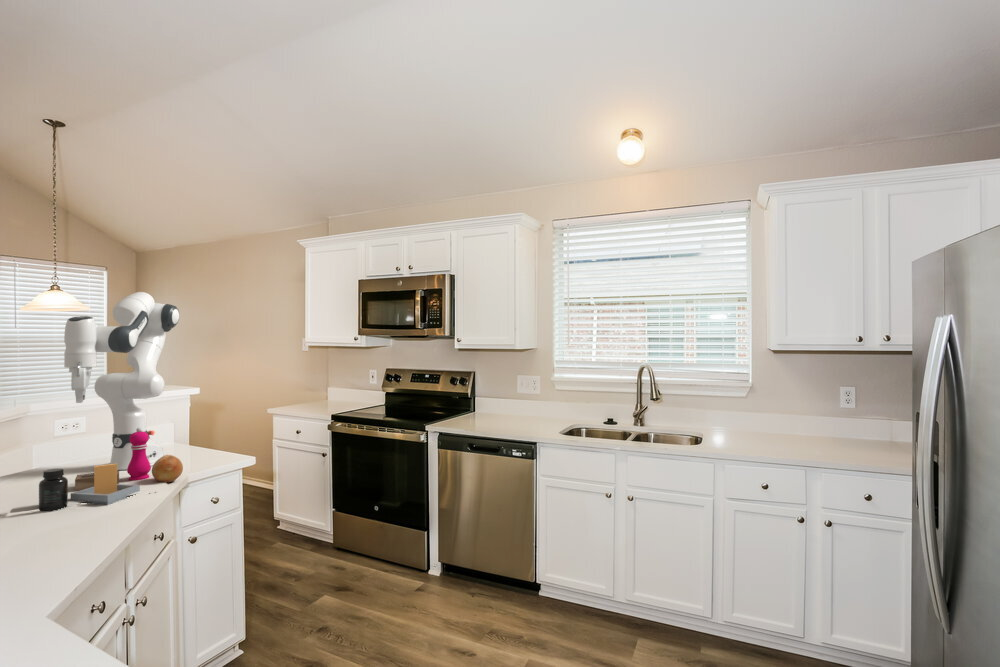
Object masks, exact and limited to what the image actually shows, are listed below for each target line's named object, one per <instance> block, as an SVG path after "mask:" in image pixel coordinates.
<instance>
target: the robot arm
mask: <svg viewBox="0 0 1000 667" xmlns="http://www.w3.org/2000/svg"><path fill="white" fill-rule="evenodd" d="M155 301H156V300H155V299H154V298H153V296H152V295H151V294H149V293H148V292H144V291H137V292H134V293H131V294H129V295H128V296H125V297H124V298H122V299H121V300H119V301H118V302H117V303H116V304H114V306H113V308H112V317H113V319H114V320H115V322H116V323H118V326H115V325H114V326H111V325H108V326H107V325H106V326H104V325H102V326H100V325H98V324H97V323H96V321H95V318H94V317H92V316H86V315H84V316H72V317H69V318H67V320H66V322H65V327H64V338H63V339H64V345H65V351H64V355H63V357H64V359H63V360H64V362H63V363H64V368H65V369H66V368H68V373H71V382H70V383H71V386H70V388H71V390H72V391H74V394H75V403H76V404H81V403H83V402H84V400H86V390H87V388H88V386H90V382H91V374H92V372H93V368H94V367H95V368H97V353H121V354H122V353H123V354H127V357H126V361H127V364H128V365H129V366H130V368H133V371H132V372H113V373H112V372H111V373H106V374H102V375H100V376H98V378H97V379H96V381H95V382H94V392H95V393H96V395H97V396H98V397H99V398H101V399H102V400H104V402H106V404H107V405H108V407H109V408H110V411H111V414H112V418H113V420H112V421H113V433H112V437H111V439H112V440H111V442H112V445H113V446H112V449H111V450H112V451H111V457H110V463H109V464H117V470H119V471H124V470H125V471H126V470H127V468H128V465H129V463H130V461H131V459H132V453H133V452H132V449H131V445H132V444H131V443H130V441H129V438H130V436H131V434H133V433H135V432H137V431H136V429H137V428H138V427H140V428H142V431H143V432H146V433H147V434H148V436H149V440H148V441H147V443H146V444H147V448H146V456H147V459H148V461H149V462H150V465H151V467H153V465H154V463H155V462H156V461H157V460H158V459H159V458H161V457H163V456H165V455H164V449H163V446H162V445H161V444H159V443H158V442H156V441H154V440H152V439H151V437H150V436H154V435H155V434H156V432H155V430H152V429H151V430H147V414H146V413H147V412H145V410H144V409H142V408H140V407H138V406H137V405H136V404H135V402H134V400H138V399H139V400H141V399H143V400H147V399H151V398H156V397H159V396H161V395H162V393H163V392H164V389H165V386H166V385H165V384H166V383H165V379H164V378H163V376H162V375H161V374H159V373H158V371H157V366H158V365H157V364H158V362H159V359H160V357H161V354H162V352H163V350H164V346H165V343H166V338H167V337H166V336H167V335H166V333H168V332H170V331H171V330H172V329H174V328H175V327H176V326H177V325H178V324H179V320H180V310H179V309H178V307H177V306H176V305H173V304H169V303H159V302H155Z"/></svg>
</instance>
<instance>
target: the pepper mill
mask: <svg viewBox="0 0 1000 667" xmlns="http://www.w3.org/2000/svg"><path fill="white" fill-rule="evenodd" d="M136 431H137V432H135V433H133V434H131V436H130V438H129V441H130V443H131V444H132V445H131V449H132V452H133V453H132V459H131V461H130V463H129V465H128V468H127V469H126V472H127V474H128V475H129V476H128V481H129V482H130V481H131V482H132V481H133V482H134V481H135V482H136V481H142V480H147V479H149V478H150V474H149V472H151V471H152V466H151V465H150V462H149V461H148V459H147V456H146V448H147V444H146V443H147V441H148V440H149V439H150V438H149V437H150V435H149V436H148V434H147V433H146V432H143V431H142V428H140V427H138V428H137V429H136Z"/></svg>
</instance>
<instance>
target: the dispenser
mask: <svg viewBox="0 0 1000 667" xmlns="http://www.w3.org/2000/svg"><path fill="white" fill-rule="evenodd" d="M117 484H120V470H117ZM91 487H94V472H90V473H81V474H77V475H76V477H75V479H74V492H78V491H81V490H84V489H87V488H91Z"/></svg>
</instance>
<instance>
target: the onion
mask: <svg viewBox="0 0 1000 667" xmlns="http://www.w3.org/2000/svg"><path fill="white" fill-rule="evenodd" d="M183 470H184V466H183V463H182V461H181V460H180V458H178V457H177V456H175V455H172V454H166V455H164V456H163V457H161V458H159V459H158V460H157V461H156V462H155V463H154V465H153V466H151V474H152V477H153V478H154V480H155V481H157V482H162V483H165V482H166V483H170V482H171V483H173V482H174V481H175V480H177V479H178V478H180V477H181V475H182V473H183V472H184V471H183ZM172 481H173V482H172ZM171 483H170V484H171Z"/></svg>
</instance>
